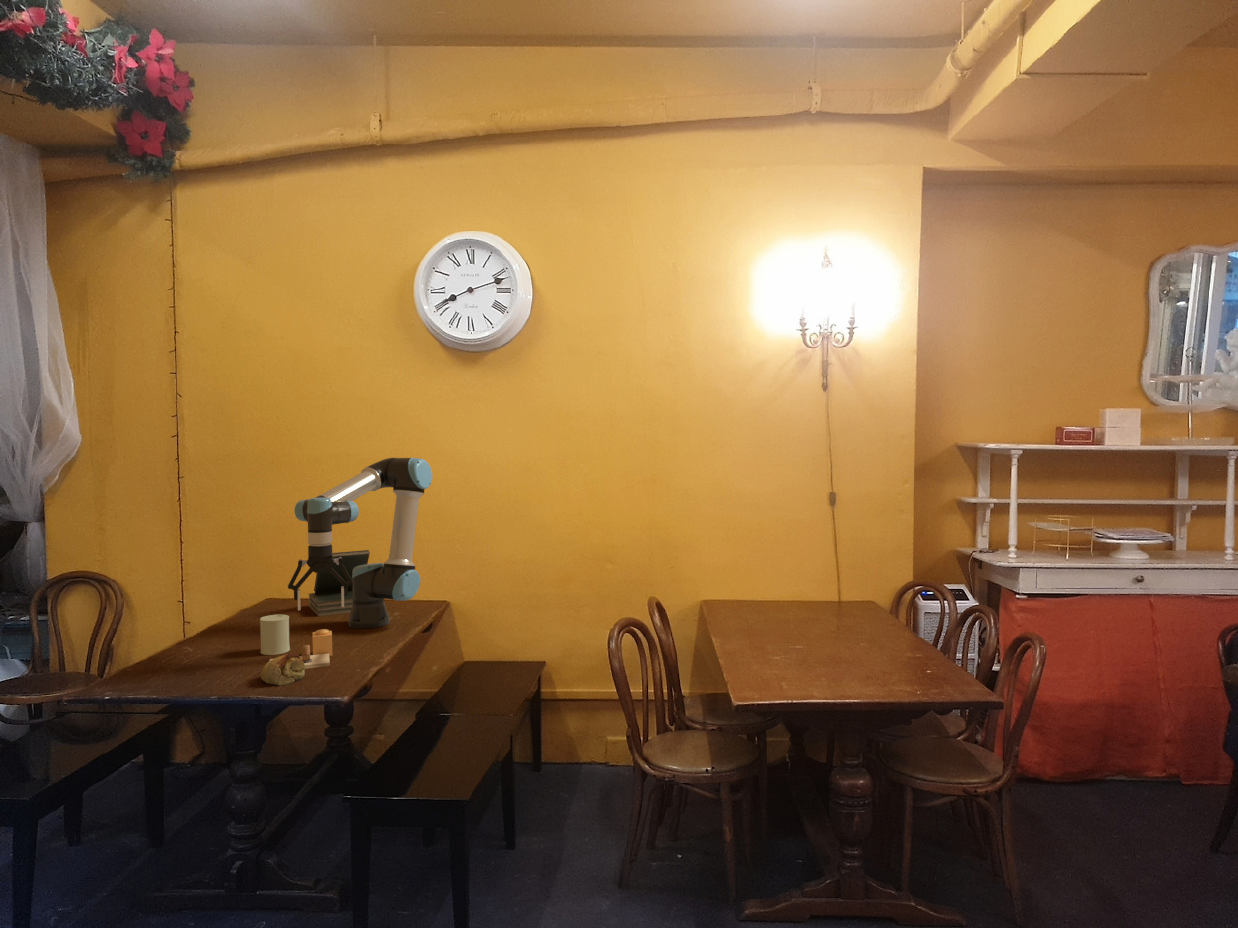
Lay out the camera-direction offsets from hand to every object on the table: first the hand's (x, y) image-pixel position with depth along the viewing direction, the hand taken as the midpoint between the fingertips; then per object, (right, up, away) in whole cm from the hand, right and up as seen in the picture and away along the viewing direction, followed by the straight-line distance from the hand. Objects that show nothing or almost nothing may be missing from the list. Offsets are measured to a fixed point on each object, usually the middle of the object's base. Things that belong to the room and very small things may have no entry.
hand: (321, 607), depth 266 cm
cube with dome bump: (0, -16, +1) cm, 16 cm away
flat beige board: (-3, -16, -10) cm, 20 cm away
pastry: (-2, -17, -24) cm, 30 cm away
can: (-17, -16, +5) cm, 24 cm away
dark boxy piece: (-17, -13, +68) cm, 71 cm away
